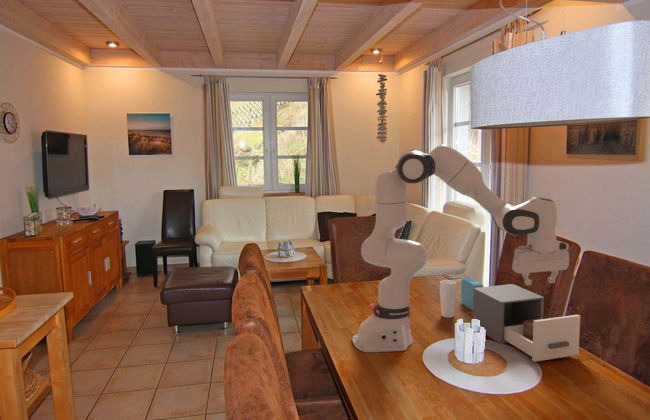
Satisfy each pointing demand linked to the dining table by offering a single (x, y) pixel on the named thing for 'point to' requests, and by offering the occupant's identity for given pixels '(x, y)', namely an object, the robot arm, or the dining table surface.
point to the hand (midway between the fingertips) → (539, 283)
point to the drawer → (547, 338)
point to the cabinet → (505, 308)
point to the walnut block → (528, 329)
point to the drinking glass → (447, 297)
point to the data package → (468, 291)
